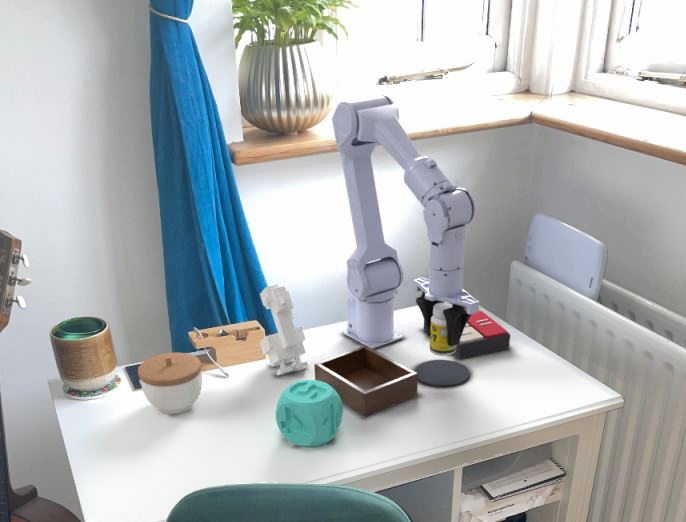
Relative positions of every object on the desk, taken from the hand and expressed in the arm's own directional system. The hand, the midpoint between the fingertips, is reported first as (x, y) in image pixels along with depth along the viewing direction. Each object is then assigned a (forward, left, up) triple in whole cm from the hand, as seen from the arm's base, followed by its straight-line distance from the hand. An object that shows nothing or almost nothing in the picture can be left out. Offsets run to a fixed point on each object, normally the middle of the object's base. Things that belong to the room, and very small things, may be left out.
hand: (443, 339), depth 142 cm
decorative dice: (+2, -30, -7) cm, 31 cm away
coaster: (0, 0, -7) cm, 7 cm away
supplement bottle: (0, 0, -2) cm, 2 cm away
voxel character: (-21, -20, -7) cm, 30 cm away
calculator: (-8, +14, -7) cm, 17 cm away
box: (-4, -14, -7) cm, 17 cm away
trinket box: (-21, -43, -7) cm, 49 cm away
